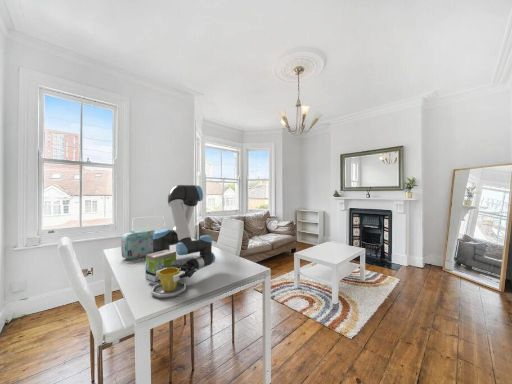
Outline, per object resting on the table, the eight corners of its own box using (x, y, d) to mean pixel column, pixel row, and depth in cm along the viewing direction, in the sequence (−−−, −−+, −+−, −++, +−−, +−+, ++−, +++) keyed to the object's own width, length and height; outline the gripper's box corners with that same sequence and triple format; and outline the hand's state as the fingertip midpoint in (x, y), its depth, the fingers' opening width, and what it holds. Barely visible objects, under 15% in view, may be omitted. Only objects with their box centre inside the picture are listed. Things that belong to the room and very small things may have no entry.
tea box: (155, 282, 127) (154, 257, 127) (145, 278, 133) (144, 254, 132) (176, 274, 140) (176, 251, 140) (166, 270, 145) (166, 248, 145)
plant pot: (154, 291, 113) (154, 272, 113) (168, 283, 123) (168, 266, 123) (169, 294, 110) (169, 275, 110) (183, 286, 119) (183, 268, 119)
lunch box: (126, 262, 162) (126, 233, 162) (118, 259, 168) (118, 232, 167) (158, 253, 185) (158, 228, 185) (151, 251, 190) (151, 227, 190)
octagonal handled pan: (135, 290, 117) (135, 286, 117) (162, 279, 132) (162, 275, 132) (166, 302, 105) (166, 297, 105) (192, 288, 120) (192, 284, 120)
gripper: (210, 274, 126) (181, 289, 108) (180, 266, 139) (149, 278, 120) (210, 261, 126) (181, 273, 108) (180, 255, 139) (149, 265, 120)
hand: (164, 276), depth 114 cm, fingers open, 13 cm apart
